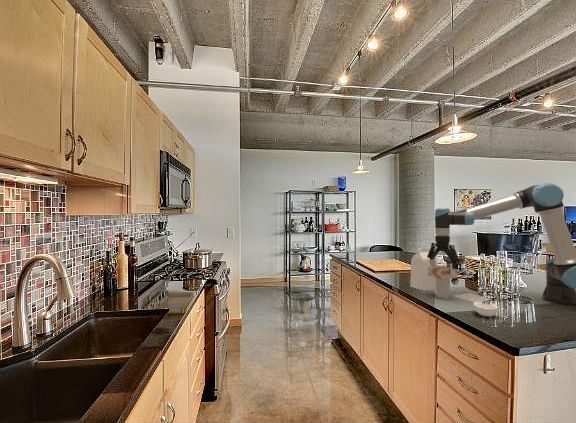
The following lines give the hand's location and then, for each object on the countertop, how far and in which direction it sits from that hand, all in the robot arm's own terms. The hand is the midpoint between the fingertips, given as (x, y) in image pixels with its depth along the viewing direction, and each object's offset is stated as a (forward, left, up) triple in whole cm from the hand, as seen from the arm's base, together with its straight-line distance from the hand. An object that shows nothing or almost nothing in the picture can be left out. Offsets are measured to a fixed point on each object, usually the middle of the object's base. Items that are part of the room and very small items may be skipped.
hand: (442, 272), depth 175 cm
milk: (+21, -7, -14) cm, 26 cm away
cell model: (-30, +6, -15) cm, 34 cm away
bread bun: (0, 0, -2) cm, 2 cm away
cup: (0, 0, -14) cm, 14 cm away
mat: (-7, -14, -14) cm, 21 cm away
